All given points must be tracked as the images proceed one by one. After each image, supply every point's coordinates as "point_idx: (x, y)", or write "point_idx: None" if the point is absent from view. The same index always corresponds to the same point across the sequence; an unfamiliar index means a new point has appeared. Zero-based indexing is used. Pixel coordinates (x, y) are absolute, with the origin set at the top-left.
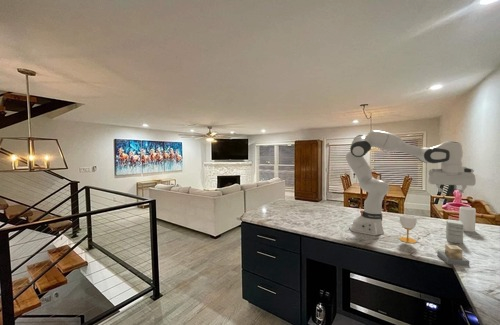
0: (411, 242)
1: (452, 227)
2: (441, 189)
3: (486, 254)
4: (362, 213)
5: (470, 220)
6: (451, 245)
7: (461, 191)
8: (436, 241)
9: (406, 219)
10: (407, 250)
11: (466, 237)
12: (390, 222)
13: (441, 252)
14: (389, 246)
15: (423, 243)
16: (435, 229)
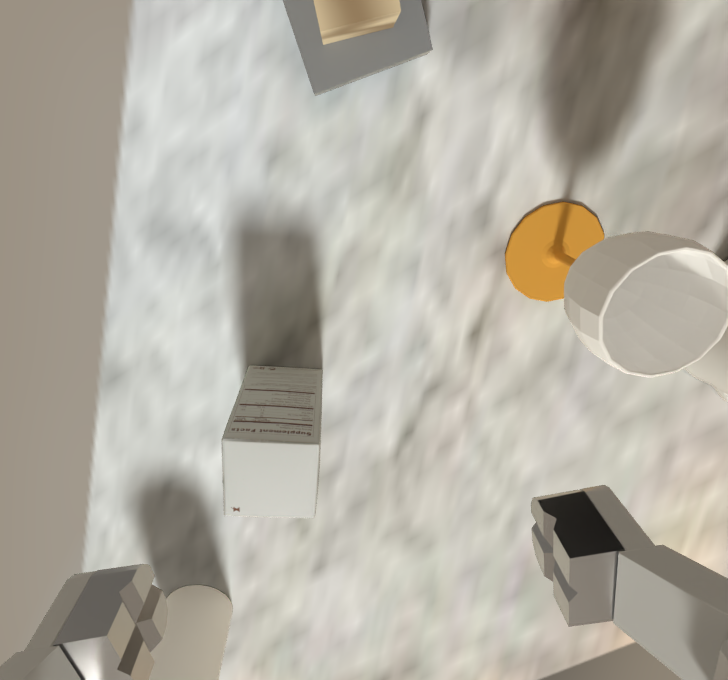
0: (542, 214)
1: (292, 420)
2: (594, 545)
3: (151, 252)
4: None
5: (165, 653)
6: (360, 7)
7: (100, 598)
8: (383, 329)
9: (692, 242)
10: (604, 33)
11: (215, 484)
12: None
13: (412, 28)
14: (713, 45)
15: (467, 247)
16: (351, 534)
